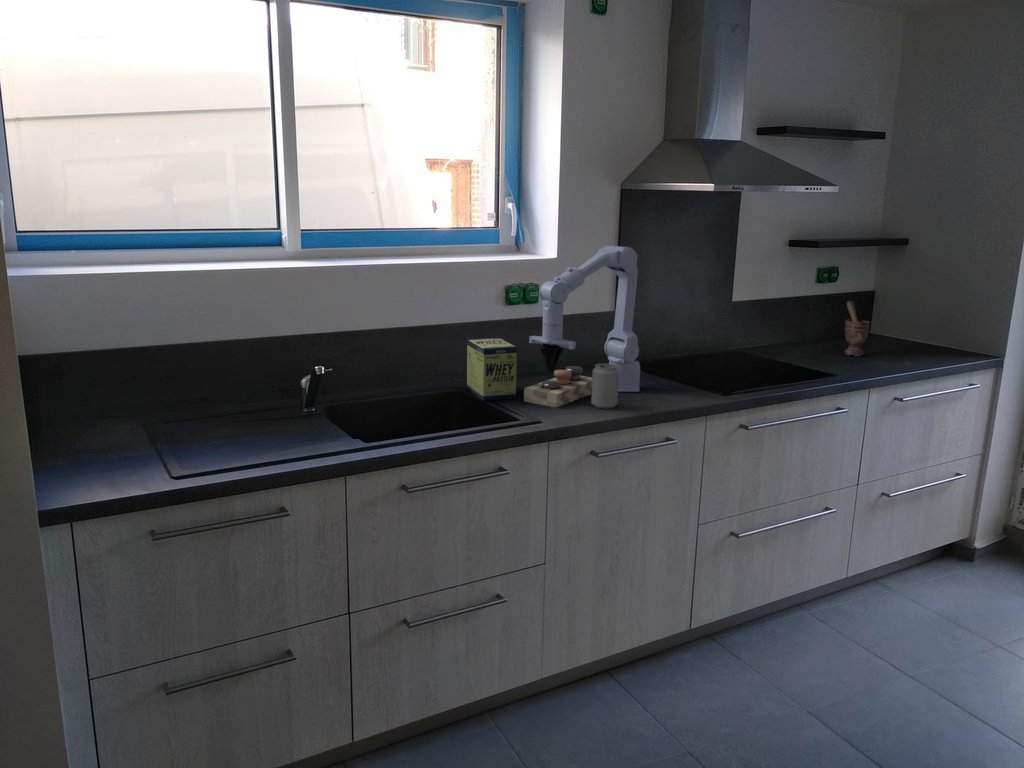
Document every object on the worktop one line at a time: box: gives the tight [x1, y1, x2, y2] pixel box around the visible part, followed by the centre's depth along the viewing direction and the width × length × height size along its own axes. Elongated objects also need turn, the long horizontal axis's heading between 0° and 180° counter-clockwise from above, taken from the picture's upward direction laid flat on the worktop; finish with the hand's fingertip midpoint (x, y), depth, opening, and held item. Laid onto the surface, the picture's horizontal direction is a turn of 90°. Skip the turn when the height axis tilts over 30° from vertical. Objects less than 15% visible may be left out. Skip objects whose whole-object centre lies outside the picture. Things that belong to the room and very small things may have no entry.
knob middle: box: [553, 369, 572, 386], centre depth 244 cm, size 5×5×4 cm
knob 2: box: [564, 365, 584, 382], centre depth 249 cm, size 5×5×4 cm
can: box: [590, 362, 619, 410], centre depth 234 cm, size 8×8×12 cm
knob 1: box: [542, 380, 560, 390], centre depth 239 cm, size 5×5×4 cm
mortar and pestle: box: [843, 300, 871, 357], centre depth 313 cm, size 12×9×20 cm
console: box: [523, 375, 592, 409], centre depth 244 cm, size 24×11×4 cm, turn 145°
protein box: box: [466, 337, 518, 402], centre depth 245 cm, size 10×16×16 cm
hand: (551, 370), depth 238 cm, fingers closed
